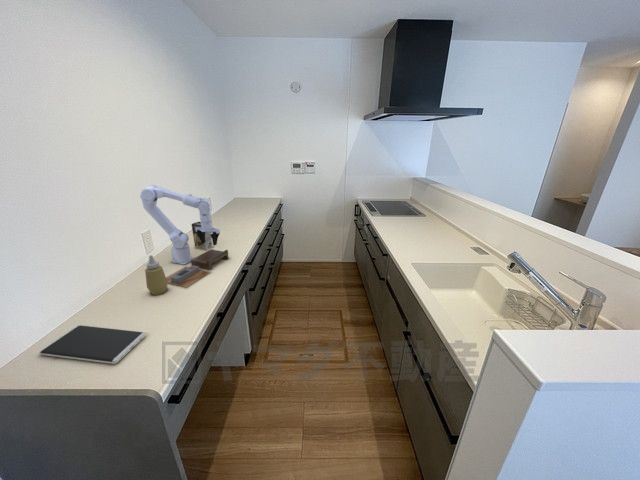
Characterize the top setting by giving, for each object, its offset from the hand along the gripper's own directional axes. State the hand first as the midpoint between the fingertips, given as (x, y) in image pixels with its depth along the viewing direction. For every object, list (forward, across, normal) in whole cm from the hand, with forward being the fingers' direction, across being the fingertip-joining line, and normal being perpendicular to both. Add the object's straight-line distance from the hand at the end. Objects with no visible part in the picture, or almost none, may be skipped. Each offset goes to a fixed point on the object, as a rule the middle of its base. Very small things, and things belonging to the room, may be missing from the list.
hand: (209, 243), depth 150 cm
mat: (+9, +2, -22) cm, 24 cm away
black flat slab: (+10, +7, -70) cm, 71 cm away
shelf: (+9, +3, -4) cm, 11 cm away
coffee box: (+10, -15, +13) cm, 22 cm away
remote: (+9, +2, -22) cm, 24 cm away
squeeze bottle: (+10, 0, -37) cm, 38 cm away
